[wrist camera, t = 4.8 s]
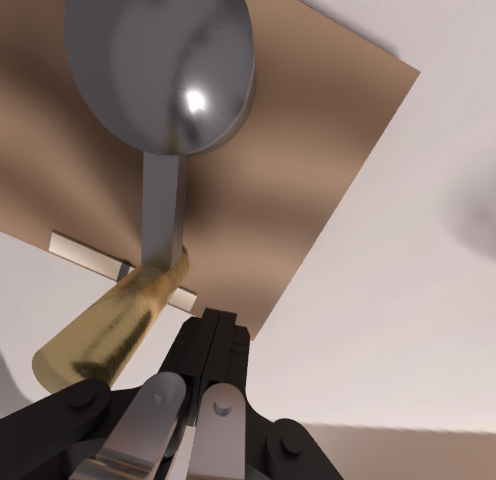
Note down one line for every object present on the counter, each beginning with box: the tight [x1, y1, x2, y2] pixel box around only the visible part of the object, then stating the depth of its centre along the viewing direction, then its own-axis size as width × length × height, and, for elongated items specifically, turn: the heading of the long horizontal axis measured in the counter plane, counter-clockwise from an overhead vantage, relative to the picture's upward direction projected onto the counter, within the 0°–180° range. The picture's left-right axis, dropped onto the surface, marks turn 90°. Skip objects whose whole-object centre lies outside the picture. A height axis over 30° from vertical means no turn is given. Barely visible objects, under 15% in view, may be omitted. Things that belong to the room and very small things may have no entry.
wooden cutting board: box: [0, 0, 421, 341], centre depth 14 cm, size 18×20×2 cm
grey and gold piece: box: [32, 0, 257, 394], centre depth 9 cm, size 15×7×8 cm, turn 170°
